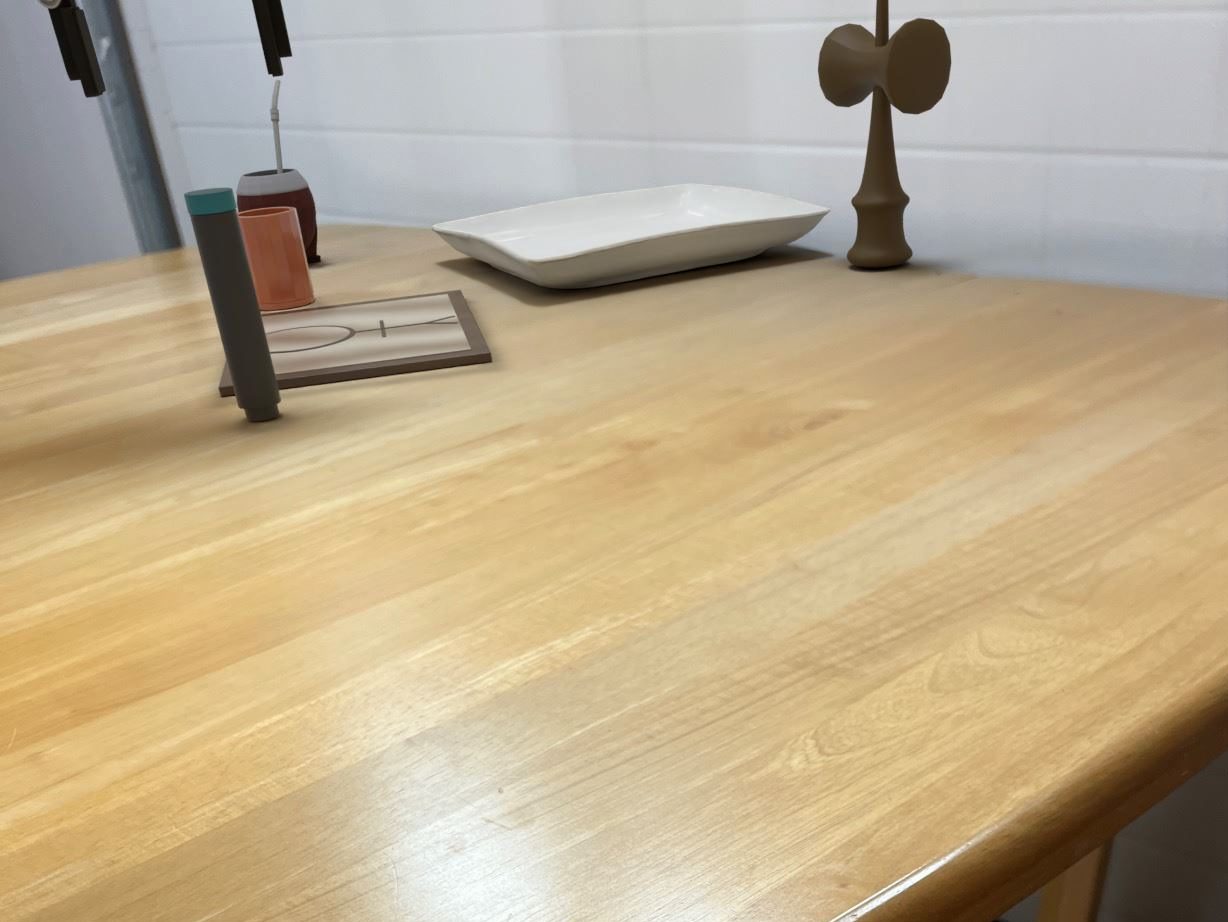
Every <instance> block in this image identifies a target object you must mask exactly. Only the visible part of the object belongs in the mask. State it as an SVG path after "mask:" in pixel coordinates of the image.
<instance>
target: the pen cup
mask: <svg viewBox="0 0 1228 922" xmlns="http://www.w3.org/2000/svg"><path fill="white" fill-rule="evenodd" d="M237 214H238V219H239V223H240V227H241V231H242V236H243V240H244V244H245V249H246V253H247V257H248V261H249V266H250V270H251V274H252V278H253V283H254V287H255V291H256V295H257V300H258V304H259V308H260V311H279V310H280V311H281V310H286V309H287V310H288V309H293V308H298V307H303V306H307V305H309V304H311V303H313V302H314V301H316V299H315V294H314V293H315V292H314V286H313V282H312V278H311V277H312V276H311V274H310V268H309V263H307V258H306V253H305V249H304V244H303V239H302V234H301V230H300V225H299V220H298V216H297V211H296V208H294V207H271V208H261V209H254V210H248V211H243V212H239V213H238V212H237Z"/></svg>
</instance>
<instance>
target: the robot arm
mask: <svg viewBox="0 0 1228 922" xmlns="http://www.w3.org/2000/svg"><path fill="white" fill-rule="evenodd" d="M37 1H38V3H39V4H40V5H41V6H43V8H46V9H47V11H48V14H49V17H50V20H51V24H52V25H51V26H52V28H53V31H54V34H55V37H56V41H57V45H58V48H59V52H60V55H61V58H62V62H63V65H64V69H65V71H66V74H67V77H68V79H69V81H71V82H73V81H74V82H75V81H80V83H81V87H82V90H83V91H82V92H83V94H84V96H85V98H86V99H89V98H96V97H99V96H102V95H104V93H105V92H107V90H106V85H105V81H104V77H103V75H102V74H103V73H102V70H101V67H100V63H99V60H98V56H97V53H96V49H95V46H94V42H93V38H92V35H91V31H90V28H89V24H88V20H87V17H86V14H85V10H84V9H83V8H80V6H77V2H76V0H37ZM251 3H252V8H253V12H254V17H255V21H256V25H257V31H258V34H259V35H258V36H259V39H260V43H261V48H262V53H263V57H264V61H265V67H266V72H267V75H271V76H272V77H273V78H275V77H283V75H284V74H285V73H284V68H283V64H282V58H292V57H293V52H292V48H291V42H290V36H289V33H288V29H287V24H286V19H285V14H284V9H283V4H282V0H251Z"/></svg>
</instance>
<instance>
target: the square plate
mask: <svg viewBox="0 0 1228 922" xmlns="http://www.w3.org/2000/svg"><path fill="white" fill-rule="evenodd" d="M830 212H831V209H830V208H829V207H826V206H823V205H818V204H814V203H810V202H806V201H802V200H798V199H795V198H791V197H787V196H783V195H779V194H775V193H770V192H765V191H760V190H755V189H751V188H744V187H737V186H728V185H718V184H717V185H715V184H705V183H697V182H696V183H695V182H694V183H693V182H689V183H680V184H674V185H665V186H658V187H650V188H649V187H648V188H639V189H631V190H624V191H616V192H615V191H614V192H605V193H598V194H591V195H583V196H576V197H572V198H571V197H570V198H563V199H557V200H552V201H547V202H541V203H535V204H530V205H529V204H528V205H526V206H525V205H524V206H521V207H520V206H519V207H514V208H509V209H504V210H500V211H499V210H498V211H494V212H489V213H485V214H480V215H474V216H471V217H464V218H460V219H455V220H449V221H444V222H438V223H435V224H433V225H431V231H433V232H435V234H437V235H438V236H439V237H440V238H441V239H442V240H443V241H444V242H445V243H446V244H447V245H449V246H450V247H452V248H453V249H454V250H456V251H457V252H459V253H461V254H463V255H465V256H468V257H470V258H473V259H476V260H479V261H481V262H484V263H486V264H488V265H489V266H491V267H492V268H494V269H497V270H499V271H501V272H504V273H506V274H509V275H512V276H515V277H517V278H520V279H522V280H524V281H527V282H529V283H531V284H534V285H537V286H539V287H542V288H548V289H560V290H569V289H572V290H573V289H588V288H595V287H602V286H603V287H604V286H609V285H614V284H619V283H624V282H630V281H631V282H632V281H635V280H641V279H644V278H649V277H656V276H660V275H661V276H662V275H666V274H671V273H672V274H673V273H677V272H682V271H688V270H692V269H698V268H702V267H708V266H709V267H710V266H715V265H721V264H726V263H733V262H738V261H741V260H745V259H749V258H753V257H756V256H759V255H760V254H762V253H764V252H765V251H766V250H767V249H771V248H777V247H782V246H784V245H787V244H790V243H793V242H795V241H797V240H799V239H801V238H803V237H805V236H806V235H807V234H809V233H810V232H812V231H813V230H814V229H815V228H816V226H818V224H819V223H820V222H821V221H822V220H823V219H824V217H825V216H827V215H828V214H829V213H830Z"/></svg>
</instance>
